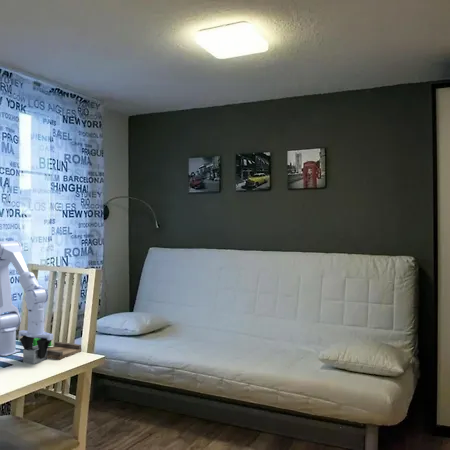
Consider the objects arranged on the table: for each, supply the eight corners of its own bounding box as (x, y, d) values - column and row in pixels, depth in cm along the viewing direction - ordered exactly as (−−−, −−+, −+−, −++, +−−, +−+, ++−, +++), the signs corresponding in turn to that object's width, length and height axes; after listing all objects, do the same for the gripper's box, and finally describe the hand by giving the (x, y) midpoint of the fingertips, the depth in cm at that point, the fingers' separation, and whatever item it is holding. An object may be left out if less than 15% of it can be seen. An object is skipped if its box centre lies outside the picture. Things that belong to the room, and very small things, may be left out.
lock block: (23, 363, 178) (23, 348, 178) (37, 358, 185) (37, 344, 185) (33, 364, 176) (33, 350, 176) (47, 359, 183) (47, 346, 183)
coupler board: (34, 355, 187) (34, 349, 187) (57, 348, 199) (57, 341, 199) (59, 359, 183) (59, 352, 183) (81, 351, 195) (81, 344, 195)
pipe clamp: (41, 351, 195) (41, 339, 195) (32, 350, 195) (33, 339, 195) (54, 344, 206) (54, 333, 206) (46, 343, 206) (46, 332, 206)
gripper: (12, 321, 179) (12, 357, 179) (44, 324, 174) (43, 362, 174) (26, 317, 186) (26, 352, 186) (57, 321, 181) (56, 357, 181)
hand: (35, 357), depth 180 cm, fingers open, 6 cm apart
